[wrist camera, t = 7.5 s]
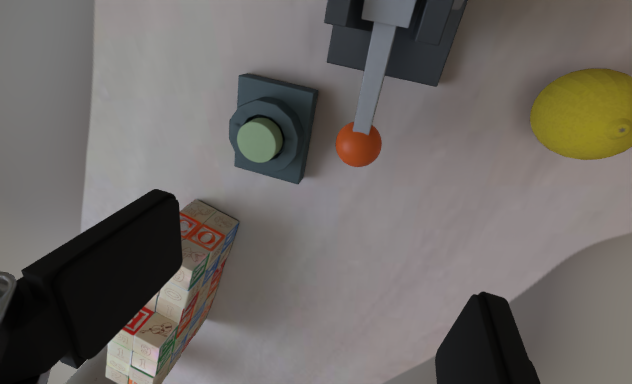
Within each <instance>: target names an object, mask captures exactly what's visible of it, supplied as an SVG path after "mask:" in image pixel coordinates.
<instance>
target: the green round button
mask: <svg viewBox="0 0 632 384" xmlns="http://www.w3.org/2000/svg"><path fill="white" fill-rule="evenodd" d="M237 143H238V146H239V149H240V151H241V152H242V154H243V155H244V156H245V157H246V158H248V159H249V160H251V161H253V162H257V163H263V162H267V161H269V160H270V159H271V158H273V157H274V156H275V155H276V154H277V153H278V152H279V151H280V149H281V147H282V144H283V136H282V133H281V130H280V129H279V127H278V126H277V125H276V124H275V123H274V122H273V121H271V120H269V119H267V118H256V119H253V120H252V121H250V122H248V123H246V124H244V125H243V126H242V127H241V128H240V130H239V132H238V135H237Z"/></svg>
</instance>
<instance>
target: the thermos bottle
mask: <svg viewBox="0 0 632 384" xmlns="http://www.w3.org/2000/svg"><path fill="white" fill-rule="evenodd" d="M107 349H108V344H107V345H106V346H105V347H104V348H103V349H102V350H101V351H100V352H99V353H98V354H97V355H96V356H95V357H94V358H92V359H89V360H87V361H86V362H85V363H84V364H83V365H82V366H81V368H80V369H79V370H78V371H77V372H76V373H75V374H74V375H73V376H72V377H71V378H70V379H69V380H68V381H67V382H66V383H65V384H118V383H116V382H114V381H113V380H111V379H109V378H107V377H106V376H105V375H106V365H107V352H108V351H107Z"/></svg>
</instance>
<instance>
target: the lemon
mask: <svg viewBox="0 0 632 384" xmlns="http://www.w3.org/2000/svg"><path fill="white" fill-rule="evenodd" d="M530 122H531V127H532V130H533V132H534V134H535V136H536V137H537V139H538V140H539V141H540V142H541V143H542V144H543V145H544V146H546V147H547V148H548V149H549V150H551V151H553V152H555V153H558V154H560V155H562V156H565V157H570V158H575V159H581V160H593V159H602V158H607V157H611V156H614V155H616V154H619V153H621V152H624V151H626V150H627V149H629V148H631V147H632V77H631V76H629V75H627V74H625V73H622V72H618V71H614V70H610V69H584V70H580V71H575V72H571V73H569V74H566V75H564V76H562V77H559V78H558V79H556V80H555V81H553V82H552V83H550V84H549V85H547V86H546V87H545V88H544V89H543V90H542V91H541V92H540V94H539V95H538V97H537V98H536V100H535V101H534V104H533V106H532V109H531V115H530Z"/></svg>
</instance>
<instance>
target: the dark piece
mask: <svg viewBox="0 0 632 384" xmlns="http://www.w3.org/2000/svg"><path fill="white" fill-rule="evenodd" d="M317 96H318V90H316V89H312V88H307V87H303V86H299V85H295V84H291V83H286V82H282V81H278V80H274V79H269V78H265V77H261V76H257V75H252V74H248V73H247V74H242V75H239V82H238V103H237V110H236V112H235V113H234V115H233V116H232V118H231V119H230V125H229V140H230V142H231V144H232V146H233V148H234V151H235V165H234V166H235V167H239V168H242V169H246V170H249V171H253V172H256V173H260V174H263V175H267V176H270V177H274V178H277V179H281V180H284V181H288V182H292V183H295V184H299V183H300V182H301V180H302V179H303V176H304V171H305V165H306V159H307V154H308V148H309V142H310V136H311V131H312V125H313V119H314V113H315V108H316V102H317ZM256 118H267V119H269V120H271V121H273V122H274V123H275V124H276V125H277V126H278V127H279V129H280V130H281V133H282V136H283V144H282V147H281V149H280V151H279V152H278V153H277V154H276V155H275V156H274V157H273V158H271V159H270V160H269V161H267V162H263V163H257V162H253V161H251V160H249V159H248V158H246V157H245V156H244V155H243V154H242V152H241V151H240V149H239V146H238V143H237V135H238V132H239V130H240V128H241V127H242V126H243V125H244V124H246V123H248V122H250V121H252V120H253V119H256Z"/></svg>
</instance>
